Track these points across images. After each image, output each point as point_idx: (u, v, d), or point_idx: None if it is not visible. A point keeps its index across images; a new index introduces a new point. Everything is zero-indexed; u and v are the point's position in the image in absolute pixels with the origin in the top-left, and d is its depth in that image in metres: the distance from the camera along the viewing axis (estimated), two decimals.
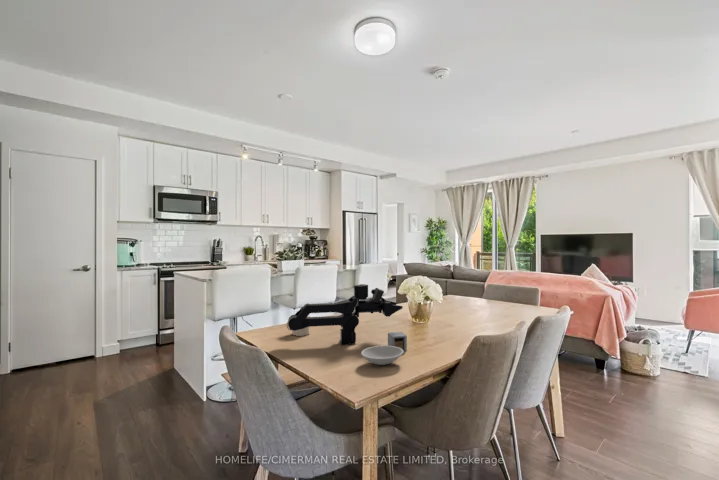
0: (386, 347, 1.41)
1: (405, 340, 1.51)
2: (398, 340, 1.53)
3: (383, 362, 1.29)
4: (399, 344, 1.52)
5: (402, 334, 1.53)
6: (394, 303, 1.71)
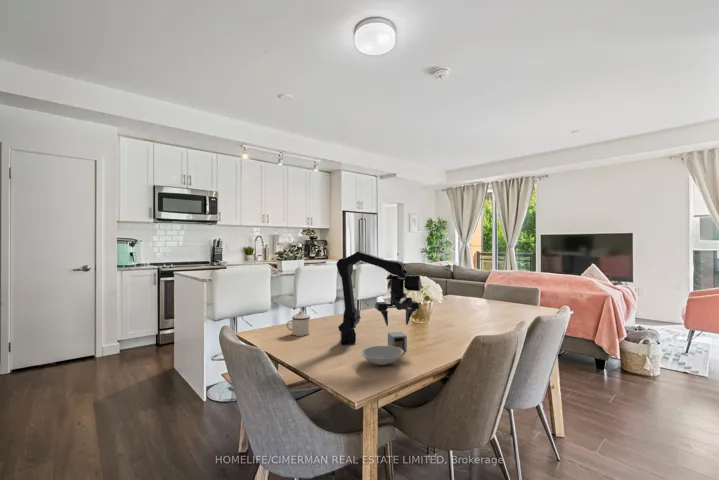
0: (386, 347, 1.41)
1: (405, 340, 1.51)
2: (398, 340, 1.53)
3: (383, 362, 1.29)
4: (399, 344, 1.52)
5: (402, 334, 1.53)
6: (406, 322, 1.54)
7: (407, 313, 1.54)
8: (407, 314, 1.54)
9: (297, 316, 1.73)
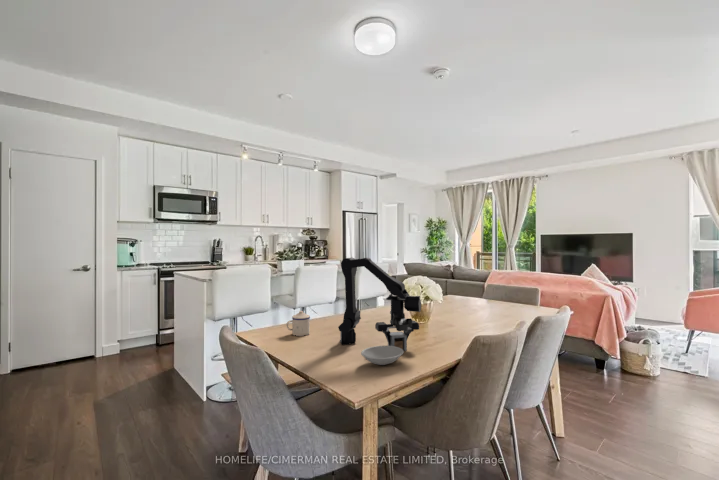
0: (386, 347, 1.41)
1: (405, 340, 1.51)
2: (398, 340, 1.53)
3: (383, 362, 1.29)
4: (399, 344, 1.52)
5: (402, 334, 1.53)
6: None
7: (405, 333, 1.54)
8: (405, 334, 1.54)
9: (297, 316, 1.73)
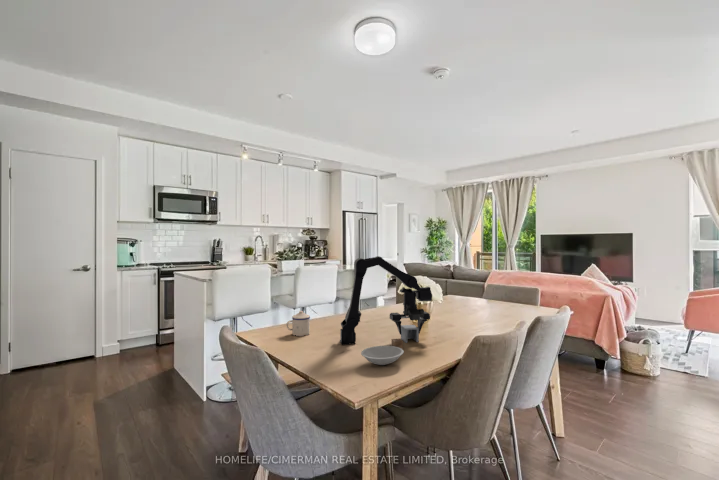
0: (386, 347, 1.41)
1: (417, 332, 1.64)
2: (398, 340, 1.53)
3: (383, 362, 1.29)
4: (399, 344, 1.52)
5: (414, 327, 1.66)
6: None
7: (419, 323, 1.67)
8: (419, 324, 1.67)
9: (297, 316, 1.73)
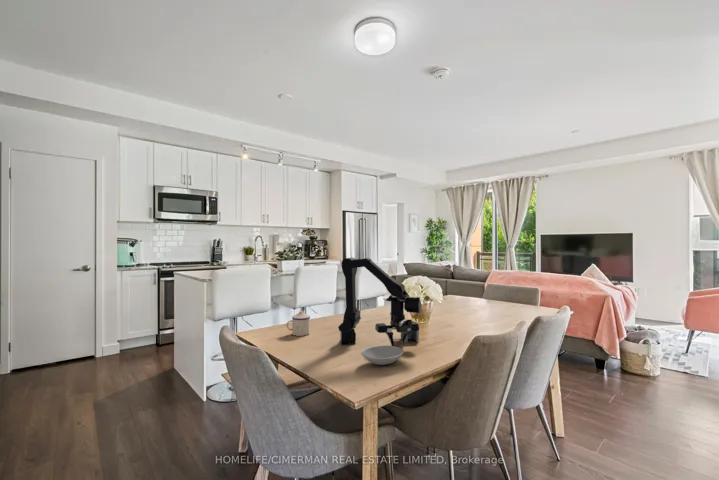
0: (386, 347, 1.41)
1: (417, 332, 1.64)
2: (398, 340, 1.53)
3: (383, 362, 1.29)
4: (399, 344, 1.52)
5: None
6: None
7: (402, 335, 1.54)
8: (402, 336, 1.54)
9: (297, 316, 1.73)
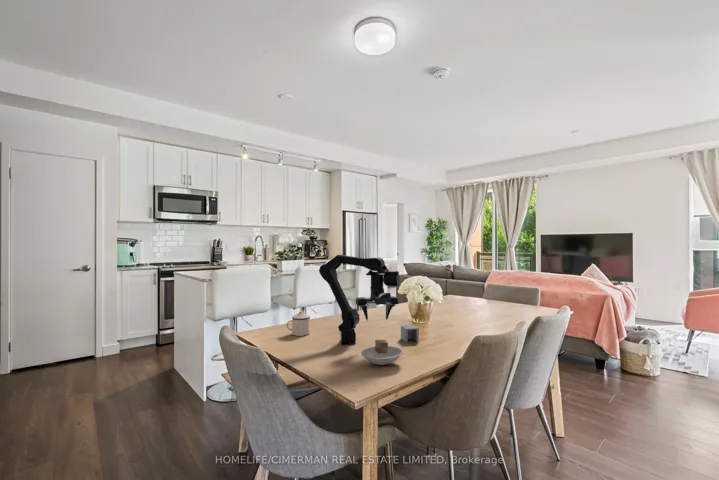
0: None
1: (417, 332, 1.64)
2: (383, 341, 1.34)
3: (383, 362, 1.29)
4: (384, 346, 1.33)
5: (414, 327, 1.66)
6: (386, 317, 1.57)
7: (387, 308, 1.58)
8: (387, 309, 1.57)
9: (297, 316, 1.73)
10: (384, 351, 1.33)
